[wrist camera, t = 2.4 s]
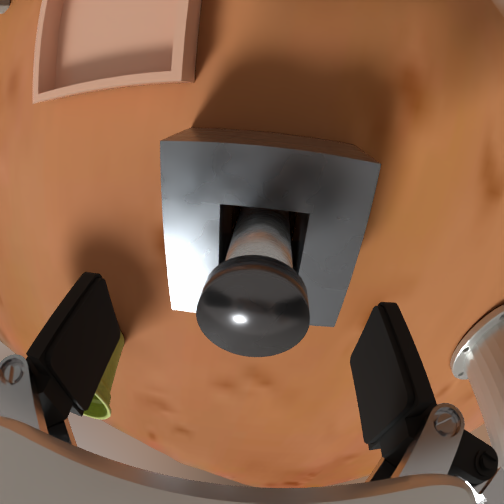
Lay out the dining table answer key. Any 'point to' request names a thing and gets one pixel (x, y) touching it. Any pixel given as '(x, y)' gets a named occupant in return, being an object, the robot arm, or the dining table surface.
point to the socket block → (265, 206)
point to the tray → (113, 45)
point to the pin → (256, 289)
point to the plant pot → (105, 387)
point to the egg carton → (4, 5)
